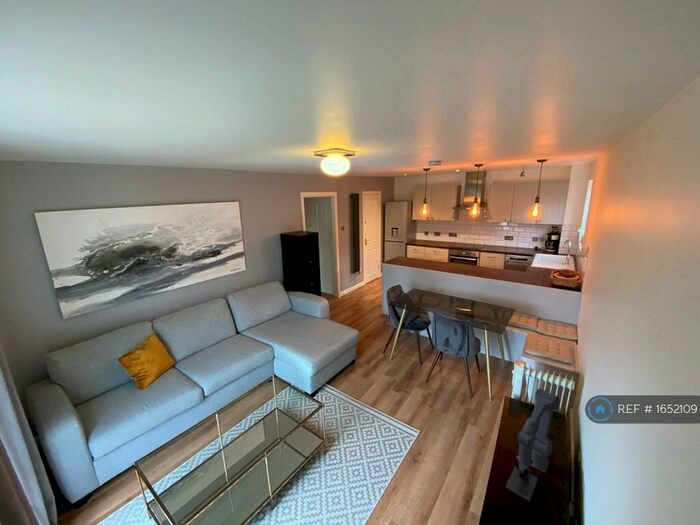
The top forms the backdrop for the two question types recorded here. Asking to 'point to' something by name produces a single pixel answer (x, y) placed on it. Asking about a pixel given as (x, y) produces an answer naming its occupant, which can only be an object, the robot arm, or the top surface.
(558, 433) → the top surface
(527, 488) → the socket block
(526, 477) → the end plug
